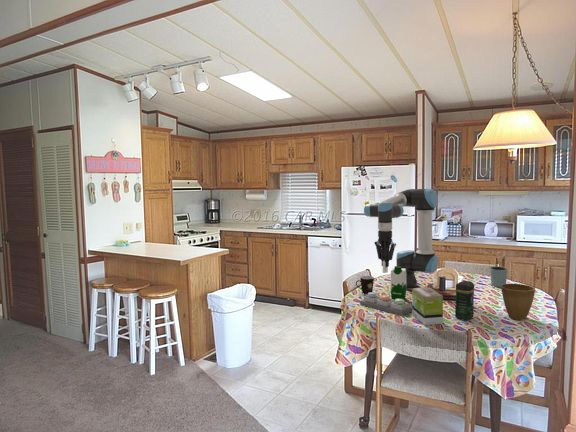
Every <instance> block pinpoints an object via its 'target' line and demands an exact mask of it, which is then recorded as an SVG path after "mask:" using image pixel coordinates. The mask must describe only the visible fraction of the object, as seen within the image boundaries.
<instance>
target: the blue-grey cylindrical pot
mask: <svg viewBox="0 0 576 432" xmlns="http://www.w3.org/2000/svg"><path fill="white" fill-rule="evenodd" d="M489 272H490V286H491V287H493V286H494V287H493V288H497V287H501V285H503V284H507V278H508V268H507V267H503V266H490V267H489Z"/></svg>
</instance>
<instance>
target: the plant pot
mask: <svg viewBox="0 0 576 432" xmlns="http://www.w3.org/2000/svg"><path fill="white" fill-rule="evenodd" d="M500 289H501V295H502V300H503V304H504V306H505V307H504V308H505V310H506V314H507V316H508V317H509V318H510V319H512V320H515V321H525V320H527V318H528V315H529V313H530V311H531V308H532V306H533V301H534V299H535V294H536V293H535V292H536V288H535V287H534V286H531V285H527V284H522V283H506V284H503V285H501V288H500Z"/></svg>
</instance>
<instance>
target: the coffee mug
mask: <svg viewBox="0 0 576 432" xmlns="http://www.w3.org/2000/svg"><path fill="white" fill-rule="evenodd" d="M359 279H360V280H356V282H355V286H356V287H357V288H358V289H360V290H361V293H362V294H363V293H364V294H363V295H368V293H369V292H374V291H373V290H374V279H375V277H374V276H372V275H362V276H360V278H359ZM358 282H360V286H359V285H358Z"/></svg>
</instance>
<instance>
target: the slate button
mask: <svg viewBox="0 0 576 432" xmlns="http://www.w3.org/2000/svg"><path fill="white" fill-rule="evenodd" d="M367 295H368V297H370V298H376V295H377V292H374V291H372V292H369V293H368V294H367Z"/></svg>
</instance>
